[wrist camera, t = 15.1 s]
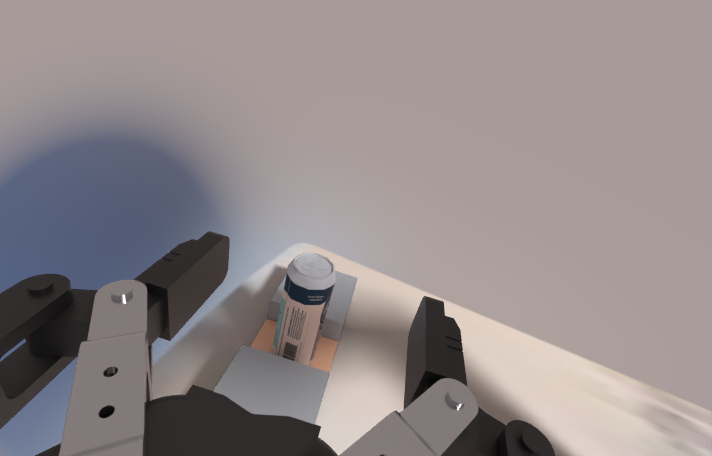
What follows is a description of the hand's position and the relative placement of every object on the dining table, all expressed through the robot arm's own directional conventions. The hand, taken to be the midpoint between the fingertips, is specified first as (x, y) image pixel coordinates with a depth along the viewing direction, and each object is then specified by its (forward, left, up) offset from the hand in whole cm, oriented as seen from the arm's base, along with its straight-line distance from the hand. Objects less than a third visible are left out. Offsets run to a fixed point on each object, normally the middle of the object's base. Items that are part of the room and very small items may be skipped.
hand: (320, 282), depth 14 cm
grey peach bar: (+3, -16, -24) cm, 29 cm away
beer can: (+3, -16, -23) cm, 28 cm away
